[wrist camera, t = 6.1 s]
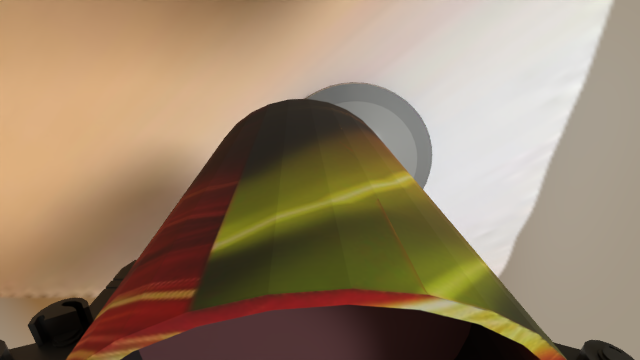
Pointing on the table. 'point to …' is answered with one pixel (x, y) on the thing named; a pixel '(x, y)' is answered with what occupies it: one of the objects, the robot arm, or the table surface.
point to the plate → (386, 122)
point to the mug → (310, 260)
